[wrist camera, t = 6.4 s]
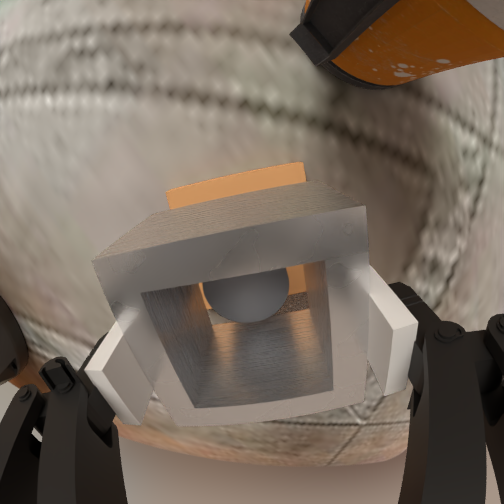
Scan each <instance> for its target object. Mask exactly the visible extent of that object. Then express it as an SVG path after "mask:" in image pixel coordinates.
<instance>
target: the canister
mask: <svg viewBox="0 0 504 504" xmlns="http://www.w3.org/2000/svg"><path fill="white" fill-rule="evenodd" d="M289 35H290V36H291V37H292V38H293V39H294V40H295V41H296V43H297V44H298V45H299V46H300V47H301V48H302V50H303V51H304V52H305V53H306V54H307V56H308V57H309V58H310V59H311V61H312V62H313V63H314V64H315V66H318V65H322V66H323V67H324V68H326V69H327V70H328V71H329V72H330V73H332V74H333V75H335V76H336V77H338V78H340V79H341V80H343V81H345V82H347V83H350V84H352V85H355V86H358V87H362V88H366V89H374V90H378V89H387V88H392V87H395V86H398V85H400V84H403V83H406V82H410V81H413V80H416V79H419V78H422V77H425V76H428V75H432V74H435V73H439V72H442V71H446V70H449V69H453V68H457V67H461V66H465V65H469V64H473V63H477V62H482V61H486V60H491V59H496V58H502V57H504V0H306V2H305V5H304V7H303V10H302V13H301V20H300V24H299V25H298V26H297V27H296V28H295V29H294V30H293V31H292V32H291V33H290V34H289Z"/></svg>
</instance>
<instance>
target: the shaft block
mask: <svg viewBox="0 0 504 504" xmlns="http://www.w3.org/2000/svg"><path fill="white" fill-rule="evenodd" d="M302 182H306V177H305V171H304V166H303V162H295V163H289V164H284V165H278V166H273V167H267V168H262V169H257V170H252V171H247V172H242V173H238V174H233V175H228V176H224V177H219V178H215V179H211V180H207V181H202V182H198V183H194V184H190V185H186V186H182V187H178V188H175V189H171V190H169V191H167V192H166V196H167V200H168V203H169V207H170V210H171V209H175V208H179V207H183V206H188V205H192V204H196V203H201V202H205V201H210V200H214V199H219V198H223V197H228V196H233V195H238V194H243V193H248V192H253V191H258V190H263V189H268V188H274V187H279V186H284V185H290V184H296V183H302ZM199 287H200V290H201V293H202V296H203V299H204V302H205V306H206V309H213V310H214V311H216V312H217V313H218V314H219V315H221V316H223V317H224V318H227V319H229V320H232V321H235V322H242V323H251V322H257V321H261V320H264V319H266V318H268V317H270V316H272V315H273V314H274V313H276V312H277V311H278V310H279V309H280V308H281V307H282V305H283V304H284V302H285V300H286V298H287V295H291V294H296V293H301V292H306V284H305V277H304V270H303V264H301V265H296V266H291V267H285V268H280V269H275V270H269V271H264V272H259V273H253V274H248V275H242V276H237V277H231V278H225V279H220V280H214V281H208V282H202V283H199Z"/></svg>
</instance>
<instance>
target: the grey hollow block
mask: <svg viewBox="0 0 504 504" xmlns="http://www.w3.org/2000/svg"><path fill="white" fill-rule="evenodd" d="M91 261H92V264H93V266H94V269H95V271H96V274H97V277H98V279H99V282H100V284H101V287H102V289H103V291H104V294H105V296H106V298H107V301H108V303H109V305H110V307H111V310H112V312H113V314H114V316H115V318H116V321H117V323H118V325H119V327H120V329H121V331H122V333H123V335H124V337H125V339H126V341H127V343H128V345H129V347H130V349H131V351H132V353H133V354H134V356H135V358H136V360H137V362H138V364H139V365H140V367H141V369H142V371H143V372H144V374H145V376H146V378H147V379H148V381H149V383H150V384H151V386H152V388H153V390H154V391H155V393H156V395H157V396H158V398H159V399H160V401H161V403H162V404H163V406H164V407H165V409H166V410H167V412H168V413H169V415H170V416H171V418H172V419H173V421H174V422H175V424H176V425H177V426H215V425H231V424H244V423H254V422H263V421H271V420H278V419H285V418H291V417H297V416H303V415H308V414H314V413H319V412H323V411H328V410H332V409H337V408H341V407H345V406H349V405H353V404H357V403H361V402H364V396H365V386H366V376H367V363H368V359H367V355H368V332H369V294H370V267H369V243H368V228H367V215H366V205H364V204H362V203H360V202H358V201H356V200H355V199H353V198H351V197H349V196H347V195H345V194H343V193H342V192H340V191H338V190H336V189H334V188H332V187H330V186H328V185H326V184H324V183H322V182H320V181H318V180H314V181H308V182H302V183H296V184H290V185H284V186H279V187H274V188H268V189H263V190H258V191H253V192H248V193H243V194H238V195H233V196H228V197H223V198H219V199H214V200H210V201H205V202H201V203H196V204H192V205H188V206H183V207H179V208H175V209H171V210H167V211H163V212H159V213H155V214H152V215H151V216H149V217H148V218H147V219H145V220H144V221H142V222H141V223H140V224H138V225H137V226H136V227H134V228H133V229H131V230H130V231H129V232H127V233H126V234H125V235H123V236H122V237H121V238H119V239H118V240H117V241H115V242H114V243H113V244H112V245H110V246H109V247H108V248H106V249H105V250H104V251H103V252H101V253H100V254H99V255H98V256H96V257H95V258H94V259H93V260H91ZM301 264H303V270H304V277H305V284H306V292H307V300H308V308H309V309H305V310H299V311H294V312H289V313H284V314H278V315H273V316H270V317H268V318H266V319H264V320H261V321H257V322H251V323H242V322H230V323H223V324H216V325H212V324H211V321H210V318H209V315H208V312H207V309H206V306H205V302H204V299H203V296H202V293H201V290H200V287H199V283H202V282H208V281H214V280H220V279H225V278H231V277H237V276H242V275H248V274H253V273H259V272H264V271H269V270H275V269H280V268H285V267H291V266H296V265H301Z"/></svg>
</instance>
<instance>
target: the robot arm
mask: <svg viewBox="0 0 504 504" xmlns="http://www.w3.org/2000/svg"><path fill="white" fill-rule="evenodd" d="M369 267H370V294H369V332H368V355H367V359H368V361H369V363H370V366H371V368H372V370H373V372H374V374H375V377H376V379H377V381H378V383H379V386H380V388H381V390H382V392H383V395H384V396H386V395H390V394H393V393H396V392H399V391H401V390H404V389H406V385H407V381H408V377H409V379H410V381H411V383H412V385H413V391H412V394H411V398H410V401H409V405H408V408H407V409H411V412H410V426H409V438H408V447H407V455H406V462H405V469H404V475H403V481H402V487H401V492H400V497H399V501H398V504H485V497H486V445H487V448H488V451H489V454H490V458H491V461H492V465H493V469H494V472H495V477H496V481H497V485H498V490H499V495H500V500H501V504H504V314H497V315H495V316H493V317H491V318H490V320H489V321H488V324H487V328H486V330H480V331H472V332H466V331H465V330H464V328H463V327H461V326H460V325H459V324H457V323H454V322H450V321H441V320H440V319H439V317H438V316H437V315H436V314H435V313H434V312H433V311H432V310H431V309H430V308H429V306H428V305H427V304H426V303H425V302H423V300H422V299H421V298H420V297H419V296H417V294H416V293H415V291H414V290H413V289H412V288H411V287H409V286H407V285H405V284H403V283H401V282H397V283H393V284H389V285H387V284H386V283H385V281H384V280H383V279H382V278H381V277H380V276H379V275H378V273H377V272H376V271H375V270H374V269H373V268H372V267H371V266H370V264H369ZM27 362H28V351H27V346H26V343H25V340H24V337H23V335H22V332H21V330H20V328H19V326H18V324H17V322H16V320H15V318H14V317H13V315H12V313H11V311H10V310H9V308H8V307H7V305H6V304H5V302H4V301H3V299H2V298H1V297H0V385H2V384H4V383H6V382H7V381H9V380H11V379H13V378H15V377H16V376H18V375H19V374H20V372H21V371H22V370H23V369H24V367H25V366H26V365H27ZM39 374H40V376H41V377H42V379H43V380H44V382H45V383H46V384H47V386H48V387H49V388H50V390H51V392H48V393H43V394H42V393H41V392H40V391H39V389H38V388H37V387H36V386H35V385H34V384H28V385H24V386H23V387H21V388H20V389H19V390H18V392H17V393H16V394H15V396H14V398H13V399H12V401H11V403H10V405H9V407H8V409H7V411H6V413H5V415H4V417H3V419H2V421H1V423H0V504H128V503H127V497H126V491H125V486H124V479H123V472H122V465H121V457H120V448H119V438H118V429H117V426H116V425H115V424H114V423H113V422H112V421H113V419H114V417H115V414H116V415H117V417H118V418H119V419H120V420H121V421H122V423H123V424H130V425H141V424H142V421H143V418H144V415H145V412H146V409H147V406H148V403H149V400H150V398H151V395H152V392H153V388H152V386H151V384H150V383H149V381H148V379H147V378H146V376H145V374H144V372H143V371H142V369H141V367H140V365H139V364H138V362H137V360H136V358H135V356H134V354H133V353H132V351H131V349H130V347H129V345H128V343H127V341H126V339H125V337H124V335H123V333H122V331H121V329H120V327H119V325H118V323H117V321H116V322H115V324H114V325H113V327H112V328H111V330H110V331H109V332H107V333H106V334H105V335H104V336H103V337H102V338H100V339H99V341H98V342H97V343H96V345H95V346H94V349H92V351H91V352H90V356H88V357H87V358H86V360H85V361H84V363H83V365H82V366H81V368H80V369H79V371H78V372H77V373H76V372H75V370H74V369H73V367H72V366H71V364H70V363H69V361H68V360H67V358H66V357H56V358H54V359H51V360H49V361H48V362H47V363H45V364H44V365H43V366H42V367H41V369H40V371H39ZM33 428H35V429H36V430H37V431H38V432H39V433H40V434H41V436H42V442H40V441H38V440H37V439H36V438H35V437H34V436H33V434H32V430H33Z"/></svg>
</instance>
